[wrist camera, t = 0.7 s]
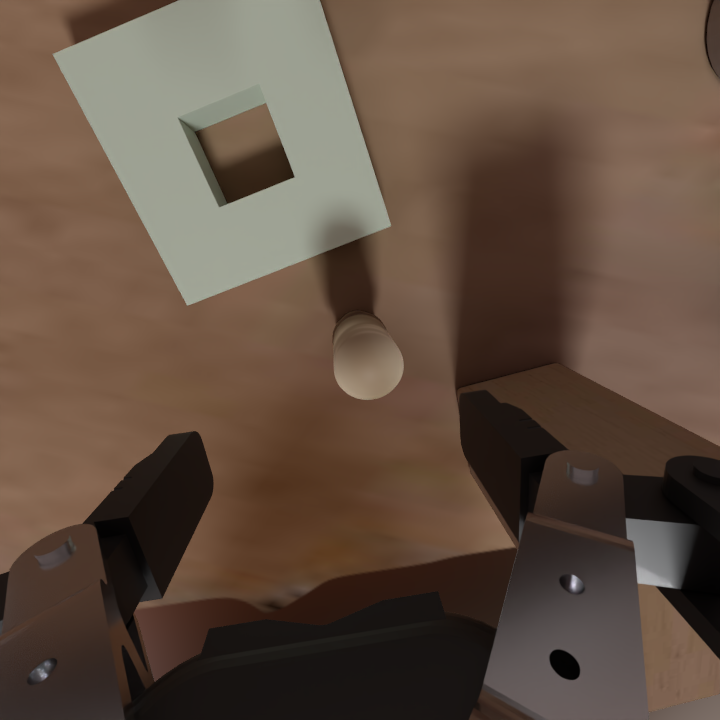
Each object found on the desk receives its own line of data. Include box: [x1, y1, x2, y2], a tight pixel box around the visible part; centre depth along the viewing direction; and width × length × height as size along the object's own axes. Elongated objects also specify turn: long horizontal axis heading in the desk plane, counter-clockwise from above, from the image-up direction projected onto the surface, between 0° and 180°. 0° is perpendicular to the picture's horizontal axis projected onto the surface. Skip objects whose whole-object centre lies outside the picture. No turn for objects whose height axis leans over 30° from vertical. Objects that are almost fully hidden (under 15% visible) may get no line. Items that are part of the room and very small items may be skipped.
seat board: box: [53, 0, 391, 306], centre depth 25 cm, size 16×16×3 cm
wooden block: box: [457, 363, 720, 712], centre depth 25 cm, size 10×10×20 cm
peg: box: [333, 310, 404, 400], centre depth 26 cm, size 4×4×10 cm
